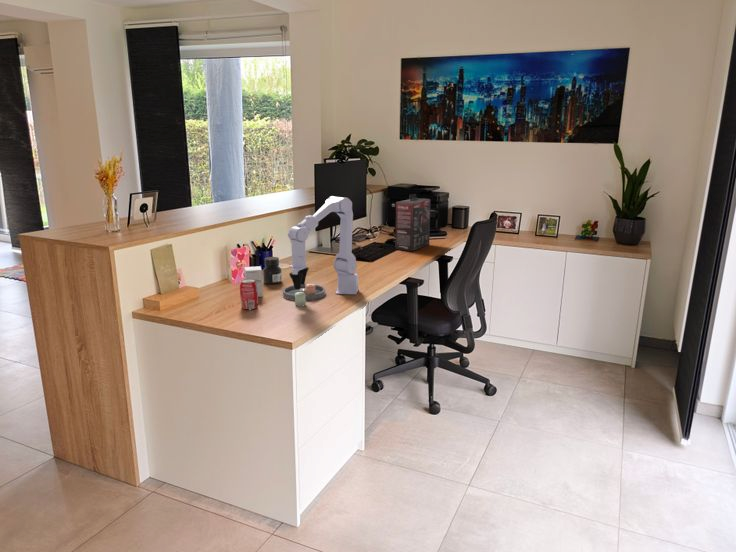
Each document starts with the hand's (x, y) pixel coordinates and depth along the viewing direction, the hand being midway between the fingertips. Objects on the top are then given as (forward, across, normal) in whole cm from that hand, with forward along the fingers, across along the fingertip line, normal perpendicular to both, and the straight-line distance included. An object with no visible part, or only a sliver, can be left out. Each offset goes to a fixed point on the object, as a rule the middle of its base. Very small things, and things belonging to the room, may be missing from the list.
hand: (299, 286), depth 234 cm
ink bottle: (+8, -33, -22) cm, 40 cm away
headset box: (+8, -123, +42) cm, 130 cm away
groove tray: (+8, -15, -2) cm, 17 cm away
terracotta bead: (+7, -11, +2) cm, 13 cm away
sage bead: (+8, 0, 0) cm, 8 cm away
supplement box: (+8, -11, -24) cm, 28 cm away
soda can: (+8, +7, -20) cm, 23 cm away
